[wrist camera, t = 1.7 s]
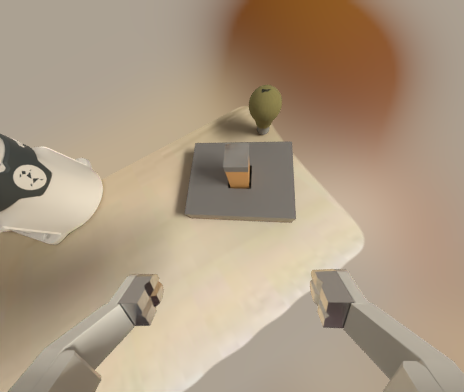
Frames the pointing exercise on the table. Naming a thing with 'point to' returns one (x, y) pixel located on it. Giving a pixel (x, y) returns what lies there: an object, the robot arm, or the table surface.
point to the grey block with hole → (243, 200)
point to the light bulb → (265, 106)
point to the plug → (237, 165)
